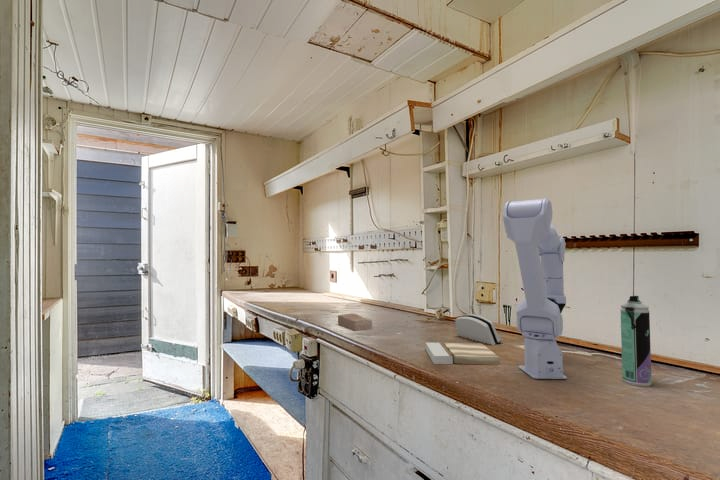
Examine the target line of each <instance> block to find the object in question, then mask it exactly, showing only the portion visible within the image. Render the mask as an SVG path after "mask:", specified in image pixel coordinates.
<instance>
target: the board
mask: <svg viewBox="0 0 720 480" xmlns="http://www.w3.org/2000/svg"><path fill="white" fill-rule="evenodd" d="M425 351H426V353H427V355H428V356H429V358H430V360H431V361H432V363H433V364H434V365H453V364H454V362H453V360H452V354H451V353H450V352H449V351H448V349H447V348H446V347H445V346H444V342H442V341H439V342H425Z"/></svg>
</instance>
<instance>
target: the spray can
mask: <svg viewBox="0 0 720 480" xmlns="http://www.w3.org/2000/svg"><path fill="white" fill-rule="evenodd" d="M650 322H651V321H650V310H649V306H647V305H645V304H644V303H643V301H641V300H640V298H639V295H630V296H629V298H628V300H627V301H626V302H624V304H621V305H620V332H621V333H620V335H621V337H620V338H621V339H620V340H621V341H620V342H621V366H622V368H621V369H622V371H621V372H622V373H621V375H622V382H624V383H626V384H628V385H630V386H631V385H632V386H637V387H650V386H652V383H653V382H652V381H653V380H652V358H651V357H652V355H651V325H650Z"/></svg>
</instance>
